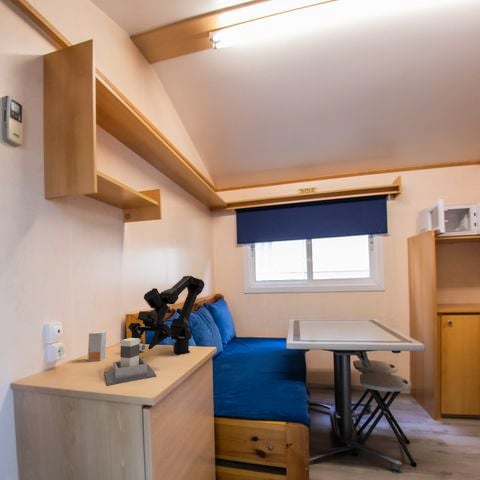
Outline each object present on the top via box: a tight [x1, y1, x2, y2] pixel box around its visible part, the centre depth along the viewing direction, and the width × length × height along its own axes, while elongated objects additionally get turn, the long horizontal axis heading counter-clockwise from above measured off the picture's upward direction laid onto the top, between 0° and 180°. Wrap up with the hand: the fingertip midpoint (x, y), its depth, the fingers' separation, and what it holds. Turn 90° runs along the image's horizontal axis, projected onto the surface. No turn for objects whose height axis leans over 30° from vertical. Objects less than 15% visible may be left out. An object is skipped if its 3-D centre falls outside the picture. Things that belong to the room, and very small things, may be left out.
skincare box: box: [87, 331, 107, 362], centre depth 128 cm, size 6×4×12 cm
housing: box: [104, 357, 157, 386], centre depth 105 cm, size 16×16×4 cm
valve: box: [139, 338, 146, 353], centre depth 140 cm, size 7×7×12 cm
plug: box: [119, 337, 141, 368], centre depth 106 cm, size 5×5×12 cm
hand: (139, 348), depth 111 cm, fingers open, 9 cm apart
